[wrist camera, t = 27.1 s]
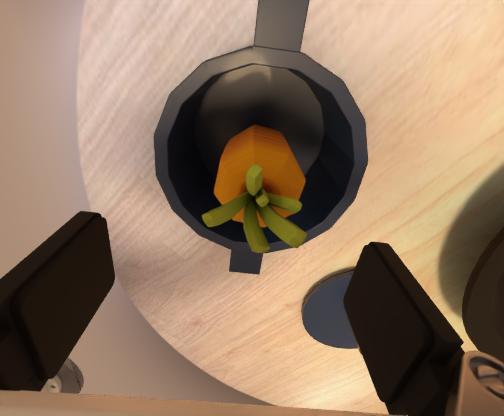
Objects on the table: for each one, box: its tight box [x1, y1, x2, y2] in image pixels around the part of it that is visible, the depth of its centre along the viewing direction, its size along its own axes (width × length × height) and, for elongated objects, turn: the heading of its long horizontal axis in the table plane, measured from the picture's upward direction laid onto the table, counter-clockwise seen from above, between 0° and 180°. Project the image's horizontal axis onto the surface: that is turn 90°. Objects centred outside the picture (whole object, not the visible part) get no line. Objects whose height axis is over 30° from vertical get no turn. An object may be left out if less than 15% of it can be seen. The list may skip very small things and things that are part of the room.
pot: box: [154, 0, 368, 274], centre depth 20 cm, size 13×18×8 cm
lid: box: [302, 271, 362, 354], centre depth 31 cm, size 14×14×6 cm
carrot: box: [202, 124, 307, 253], centre depth 17 cm, size 5×5×15 cm
